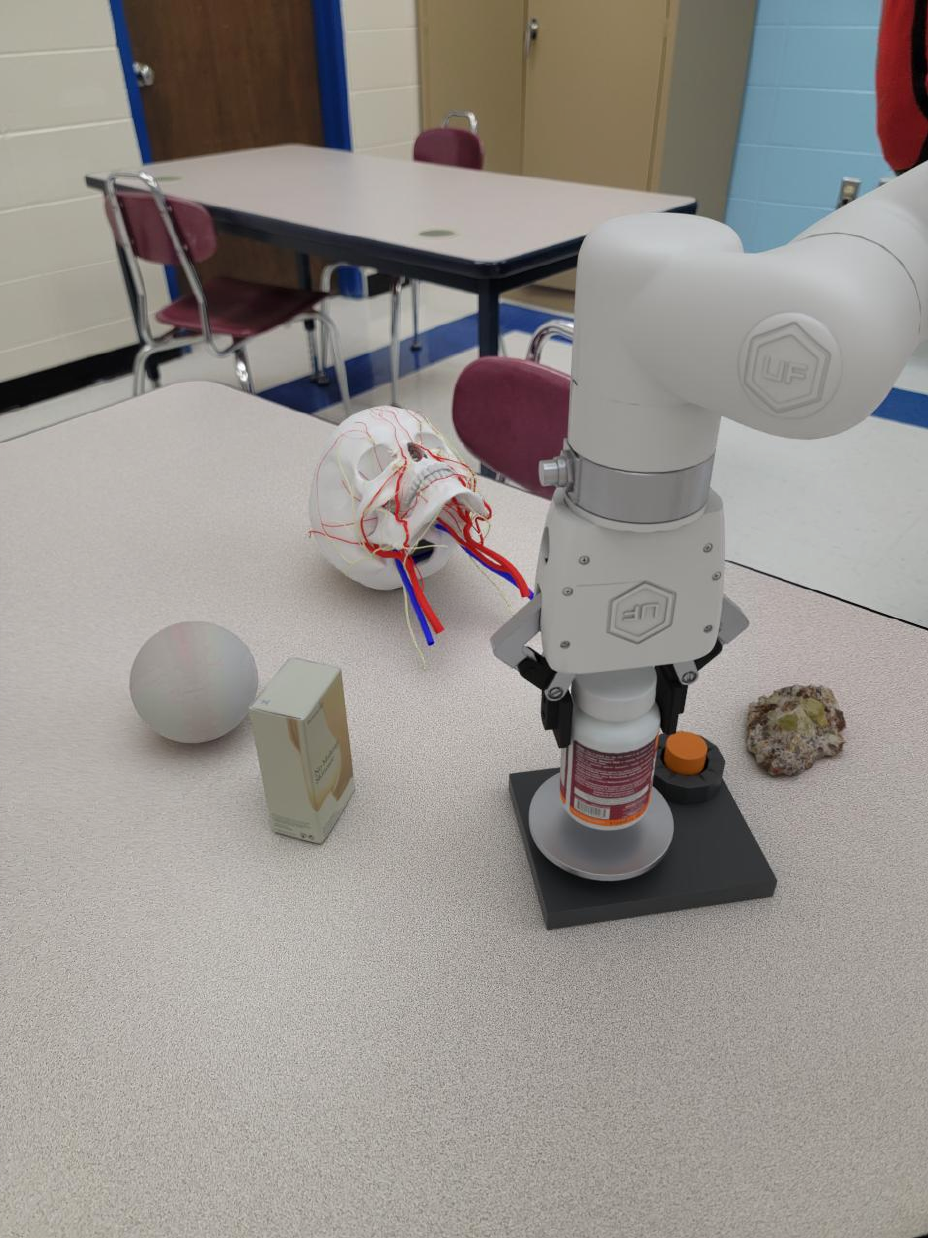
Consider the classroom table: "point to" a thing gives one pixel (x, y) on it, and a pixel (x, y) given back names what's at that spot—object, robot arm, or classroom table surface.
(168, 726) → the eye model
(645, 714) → the pill bottle
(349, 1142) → the classroom table surface
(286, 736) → the cosmetic box
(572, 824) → the weighing pan
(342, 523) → the anatomical skull model
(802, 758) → the mineral rock
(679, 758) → the tare button
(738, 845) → the scale
